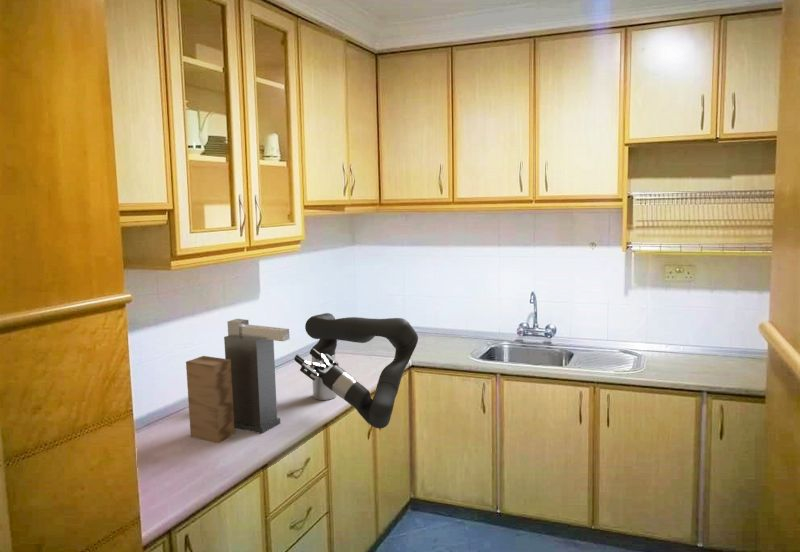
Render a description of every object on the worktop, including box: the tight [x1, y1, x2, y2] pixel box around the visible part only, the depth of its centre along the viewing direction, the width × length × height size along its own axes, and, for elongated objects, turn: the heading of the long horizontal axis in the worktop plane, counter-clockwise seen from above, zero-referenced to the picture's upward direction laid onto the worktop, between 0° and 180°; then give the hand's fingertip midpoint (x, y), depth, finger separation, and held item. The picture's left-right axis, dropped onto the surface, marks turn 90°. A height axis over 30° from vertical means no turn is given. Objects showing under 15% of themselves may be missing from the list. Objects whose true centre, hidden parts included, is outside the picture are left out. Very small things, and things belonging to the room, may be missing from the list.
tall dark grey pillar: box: [223, 335, 281, 434], centre depth 219 cm, size 10×16×32 cm, turn 63°
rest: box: [185, 355, 236, 444], centre depth 210 cm, size 8×12×26 cm, turn 63°
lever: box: [226, 318, 290, 342], centre depth 214 cm, size 5×23×5 cm, turn 63°
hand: (303, 353), depth 207 cm, fingers open, 8 cm apart
